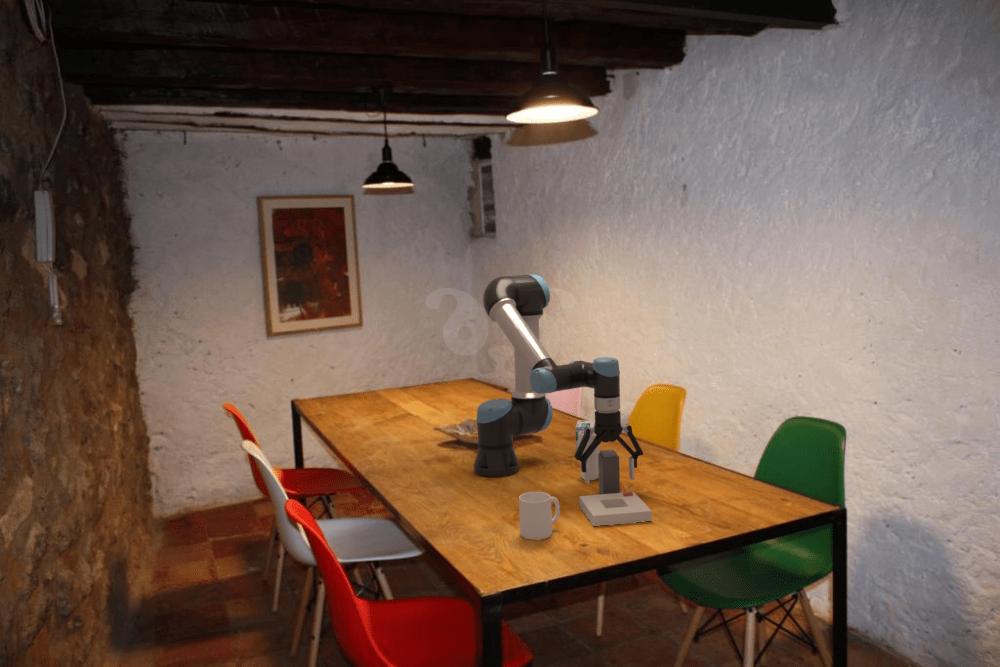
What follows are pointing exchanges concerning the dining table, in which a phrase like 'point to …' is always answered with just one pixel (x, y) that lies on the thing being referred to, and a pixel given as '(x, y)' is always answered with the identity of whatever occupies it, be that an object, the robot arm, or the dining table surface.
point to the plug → (608, 472)
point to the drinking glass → (592, 459)
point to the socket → (614, 508)
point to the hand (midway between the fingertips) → (609, 480)
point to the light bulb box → (582, 428)
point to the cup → (537, 515)
